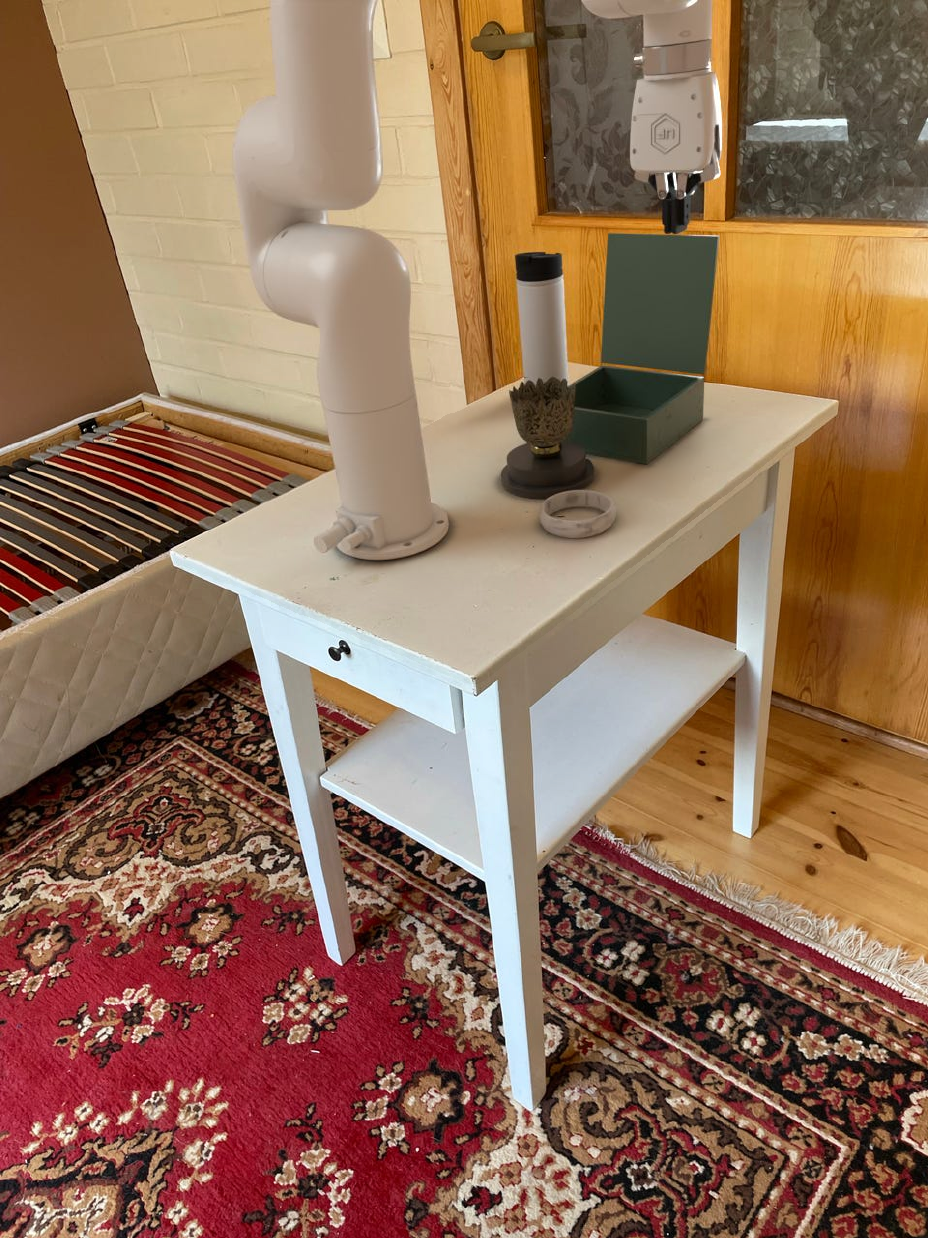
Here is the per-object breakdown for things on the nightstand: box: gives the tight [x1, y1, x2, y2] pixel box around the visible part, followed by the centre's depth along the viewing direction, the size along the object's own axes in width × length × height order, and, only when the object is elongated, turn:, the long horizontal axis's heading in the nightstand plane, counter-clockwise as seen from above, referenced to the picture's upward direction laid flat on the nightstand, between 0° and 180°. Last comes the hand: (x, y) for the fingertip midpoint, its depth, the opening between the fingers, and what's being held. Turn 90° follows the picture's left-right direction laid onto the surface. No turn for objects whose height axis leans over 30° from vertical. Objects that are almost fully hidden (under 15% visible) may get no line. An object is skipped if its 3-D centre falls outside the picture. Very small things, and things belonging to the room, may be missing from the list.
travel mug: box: [514, 251, 570, 387], centre depth 128 cm, size 6×7×20 cm
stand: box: [499, 440, 596, 500], centre depth 109 cm, size 11×11×3 cm
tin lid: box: [600, 232, 720, 375], centre depth 118 cm, size 16×15×1 cm
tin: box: [565, 364, 705, 465], centre depth 118 cm, size 15×15×6 cm
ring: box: [538, 489, 617, 539], centre depth 100 cm, size 8×8×2 cm
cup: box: [508, 377, 576, 459], centre depth 107 cm, size 8×7×8 cm
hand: (675, 231), depth 117 cm, fingers closed
